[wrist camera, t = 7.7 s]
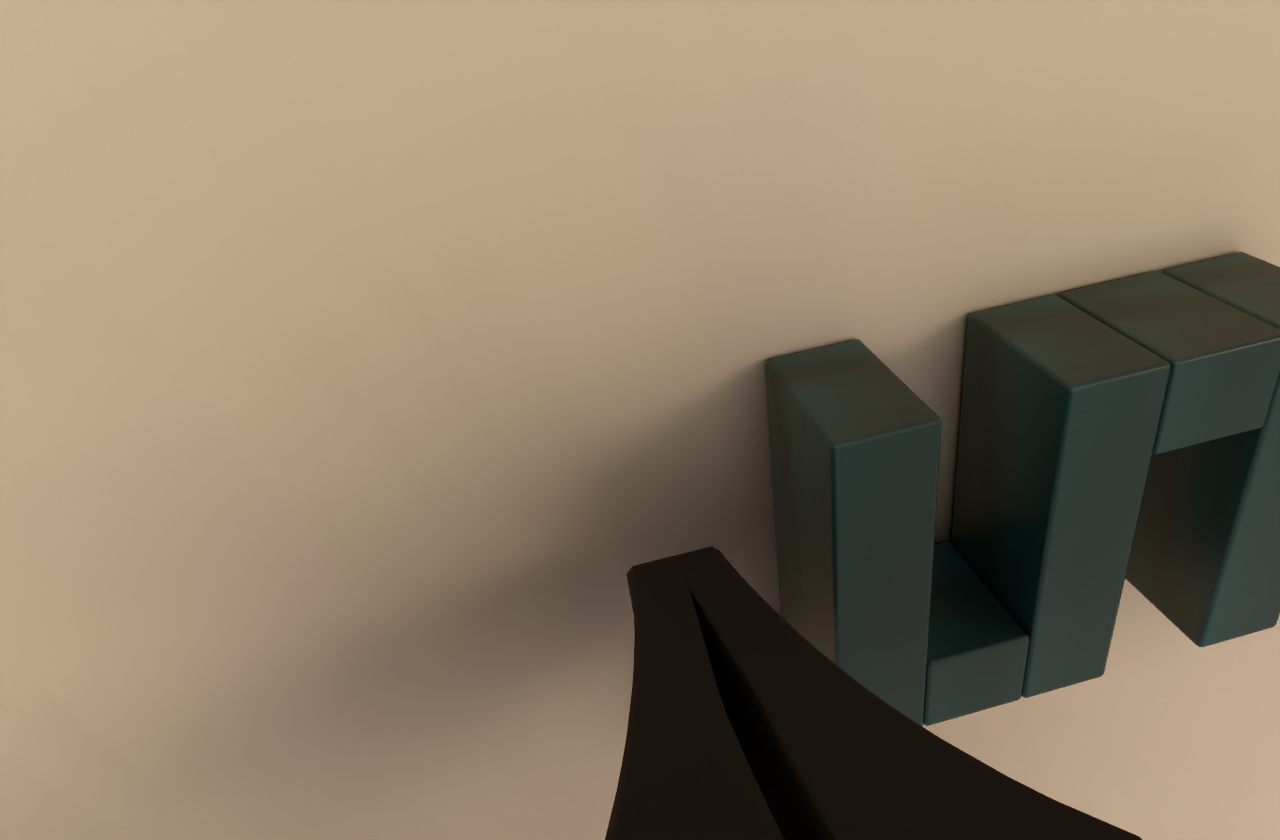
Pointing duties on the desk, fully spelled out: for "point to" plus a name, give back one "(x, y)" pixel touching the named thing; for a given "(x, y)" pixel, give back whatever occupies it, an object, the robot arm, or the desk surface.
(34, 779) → the desk surface
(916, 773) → the robot arm
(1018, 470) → the letter S
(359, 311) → the desk surface
